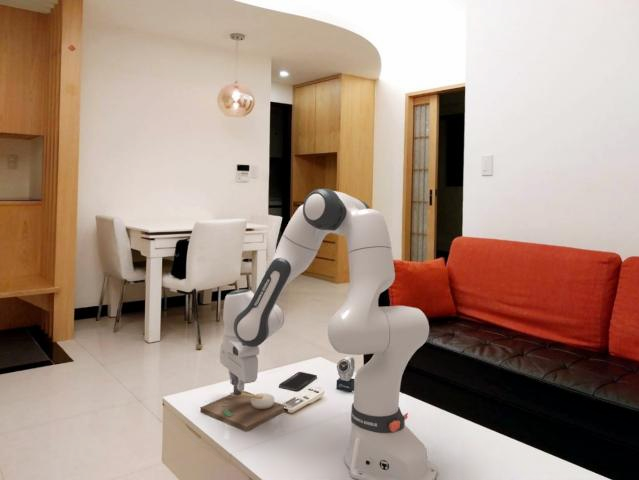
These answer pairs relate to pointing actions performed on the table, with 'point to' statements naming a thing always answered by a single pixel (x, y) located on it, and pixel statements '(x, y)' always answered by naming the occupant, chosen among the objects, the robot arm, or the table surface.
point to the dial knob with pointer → (254, 397)
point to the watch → (346, 374)
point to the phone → (298, 381)
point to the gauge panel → (240, 411)
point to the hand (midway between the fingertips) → (237, 387)
